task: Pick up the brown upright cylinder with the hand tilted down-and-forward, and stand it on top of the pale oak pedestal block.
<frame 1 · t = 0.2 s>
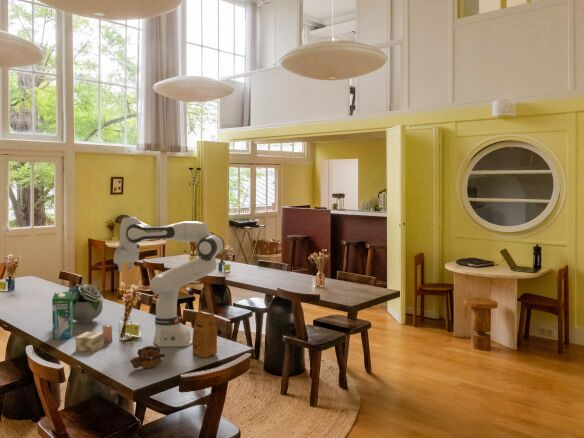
hand: (125, 270, 278), 39 cm above the table, tool pointing down, fingers open, 8 cm apart
brown upright cylinder: (107, 342, 275), on the table
milk carton: (63, 337, 283), on the table
wooden carving: (148, 368, 238), on the table
flower arrangement: (84, 322, 312), on the table
coffee package: (204, 354, 258), on the table
pedestal: (90, 348, 265), on the table
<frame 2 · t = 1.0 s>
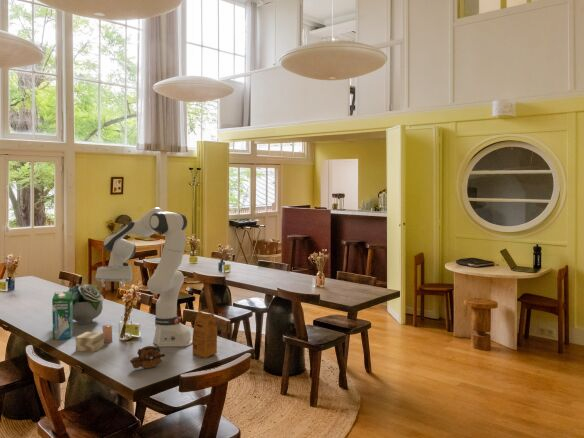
hand: (112, 286, 285), 28 cm above the table, tool tilted 45°, fingers open, 8 cm apart
nothing on the table moved.
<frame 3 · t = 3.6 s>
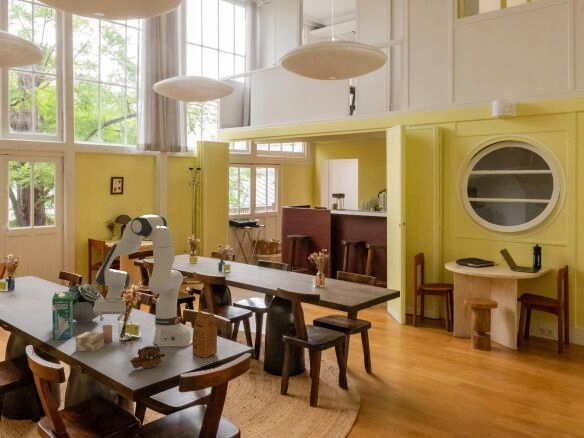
hand: (110, 320, 280), 10 cm above the table, tool tilted 45°, fingers open, 8 cm apart
nothing on the table moved.
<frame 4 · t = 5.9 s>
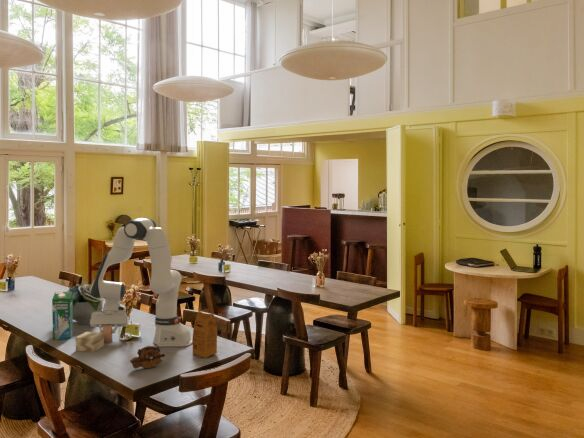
hand: (107, 333, 274), 5 cm above the table, tool tilted 45°, fingers closed on brown upright cylinder, 5 cm apart
brown upright cylinder: (107, 342, 275), on the table, touching gripper
everything else where it was.
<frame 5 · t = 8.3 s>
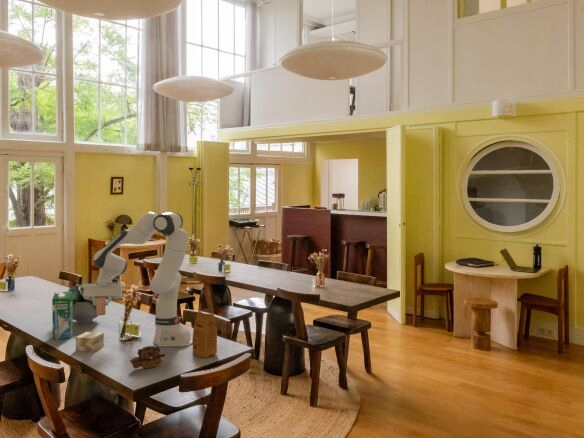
hand: (100, 305, 269), 22 cm above the table, tool tilted 45°, fingers closed on brown upright cylinder, 5 cm apart
brown upright cylinder: (100, 314, 270), point 16 cm above the table, touching gripper
everything else where it was.
when the fingers open (14 cm above the table, at t = 11.1 s): brown upright cylinder drops 1 cm, resting on pedestal.
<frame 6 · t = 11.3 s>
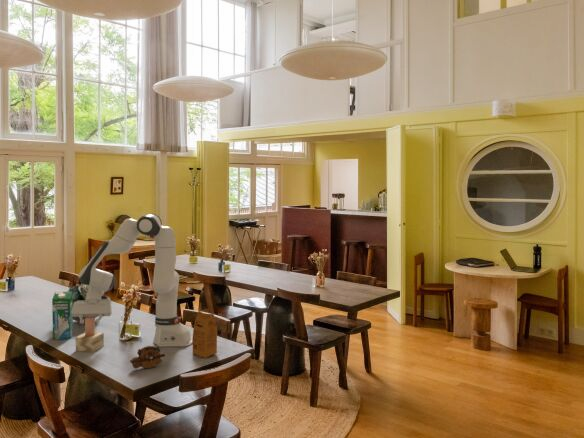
hand: (89, 322, 263), 14 cm above the table, tool tilted 45°, fingers open, 6 cm apart
brown upright cylinder: (89, 334, 264), point 7 cm above the table, touching pedestal
everything else where it was.
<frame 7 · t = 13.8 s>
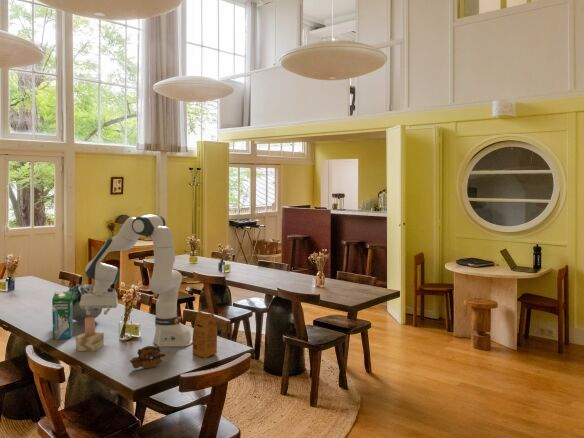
hand: (96, 314, 276), 15 cm above the table, tool tilted 45°, fingers open, 8 cm apart
nothing on the table moved.
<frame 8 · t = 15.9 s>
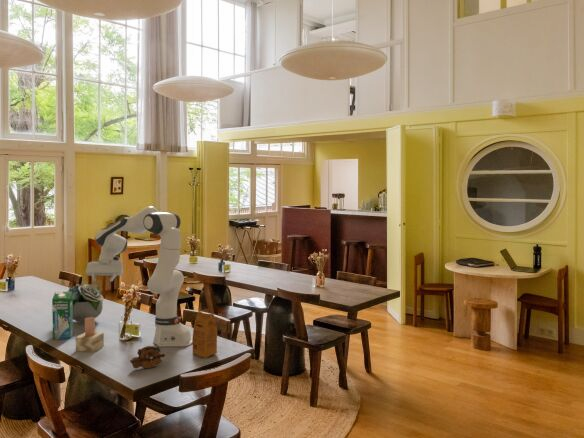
hand: (102, 280, 285), 31 cm above the table, tool tilted 45°, fingers open, 8 cm apart
nothing on the table moved.
at the end: brown upright cylinder inside the target area on the pedestal (0.0 cm from its centre), point 7.0 cm above the pedestal's base; brown upright cylinder tilted 0°; the gripper is holding nothing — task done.
